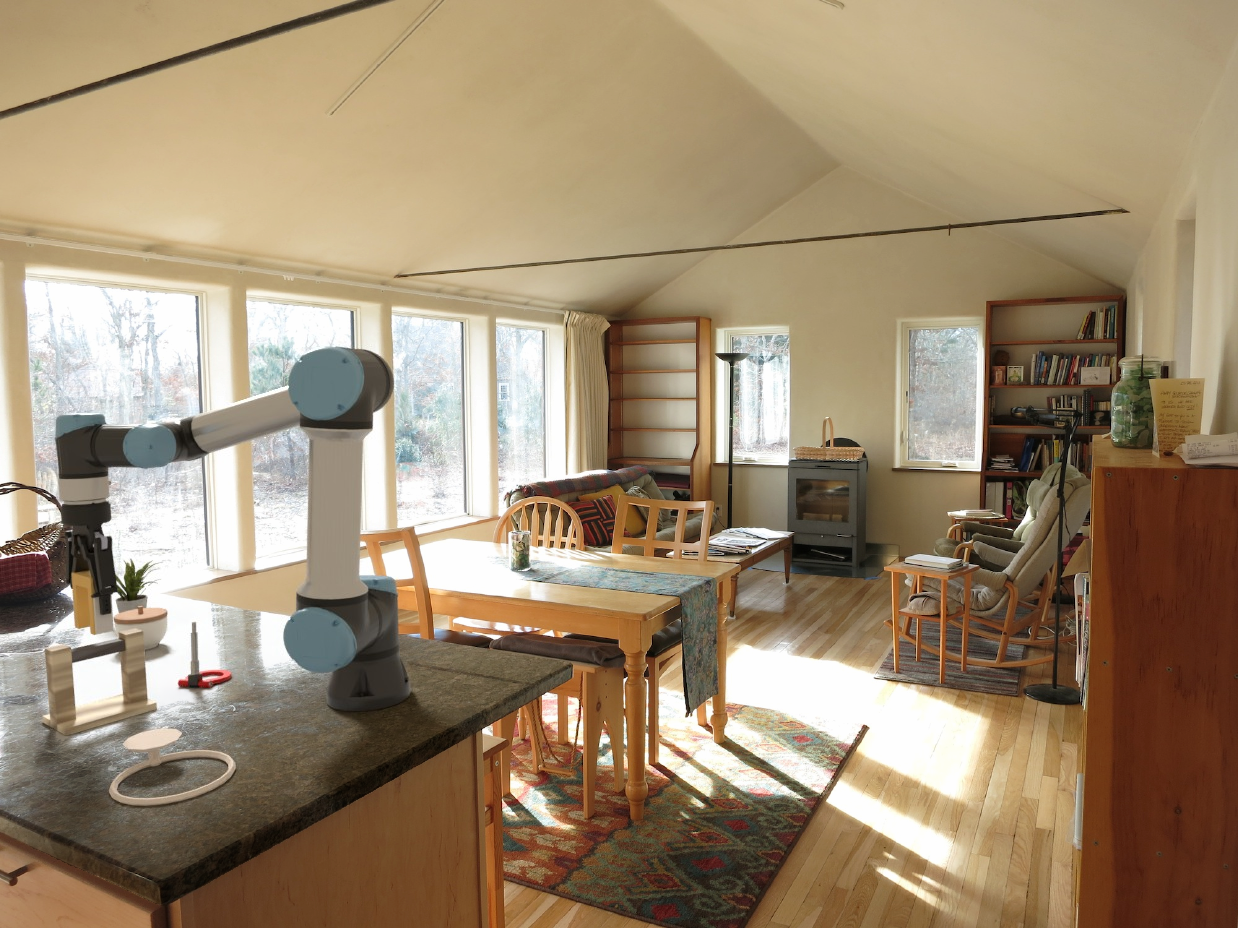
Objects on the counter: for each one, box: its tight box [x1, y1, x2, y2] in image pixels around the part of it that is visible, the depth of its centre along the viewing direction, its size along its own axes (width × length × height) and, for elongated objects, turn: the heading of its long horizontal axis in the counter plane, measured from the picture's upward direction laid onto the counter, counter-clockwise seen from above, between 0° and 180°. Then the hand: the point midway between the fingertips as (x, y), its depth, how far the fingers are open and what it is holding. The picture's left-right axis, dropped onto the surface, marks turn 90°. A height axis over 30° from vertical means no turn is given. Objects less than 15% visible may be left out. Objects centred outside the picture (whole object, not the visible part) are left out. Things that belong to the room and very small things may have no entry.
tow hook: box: [177, 621, 232, 689], centre depth 175 cm, size 8×13×9 cm
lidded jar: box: [113, 606, 168, 651], centre depth 199 cm, size 11×11×9 cm
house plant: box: [115, 558, 163, 614], centre depth 219 cm, size 14×14×16 cm
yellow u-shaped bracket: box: [72, 570, 112, 636], centre depth 155 cm, size 8×3×10 cm, turn 52°
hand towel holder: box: [108, 727, 237, 807], centre depth 132 cm, size 17×4×21 cm
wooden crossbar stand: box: [41, 628, 158, 736], centre depth 156 cm, size 10×15×14 cm, turn 142°
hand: (94, 627), depth 156 cm, fingers closed on yellow u-shaped bracket, 8 cm apart
